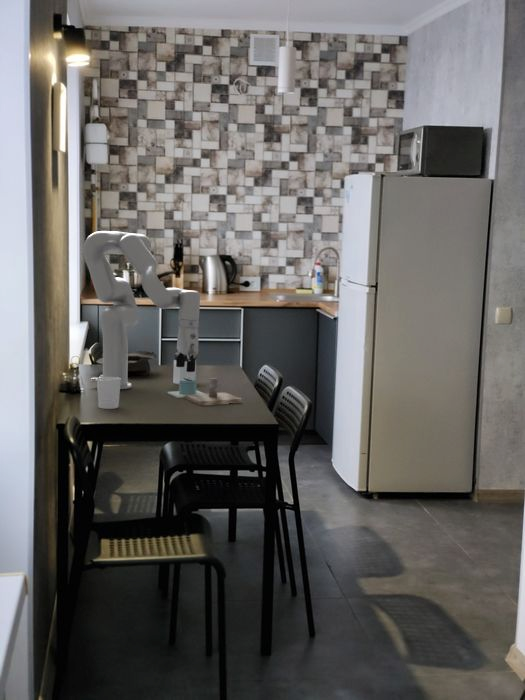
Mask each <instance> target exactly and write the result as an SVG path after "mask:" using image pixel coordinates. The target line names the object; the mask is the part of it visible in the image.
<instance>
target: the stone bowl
mask: <svg viewBox="0 0 525 700" xmlns="http://www.w3.org/2000/svg"><path fill="white" fill-rule="evenodd" d="M157 357H158V356H157V355H156V353H155V352H154V351H153V352H149V351H144V350H143V351H142V350H140V351H134V352H130V353H128V372H130V371H132V372H131V373H134V374H136V375H140V376H147V375H149V373H150V372H151V364H150V362H149V360H153V359H156V358H157ZM96 363H98V364H101V365H103V357H101V358H99V359H97V360H96Z"/></svg>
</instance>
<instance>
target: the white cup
mask: <svg viewBox="0 0 525 700" xmlns="http://www.w3.org/2000/svg"><path fill="white" fill-rule="evenodd" d="M98 377H99V378H98ZM98 377H96V378H97V383H96V384H97V385H96V386H97V387H96V389H97V399H98V402H97V403H98V408H99V409H103V410H104V409H105V410H112V409H117V408H119V407H120V406H119V404H120V394H121V393H120V391H121V389H120V378H118V377H100V376H98Z"/></svg>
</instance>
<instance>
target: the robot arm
mask: <svg viewBox="0 0 525 700" xmlns="http://www.w3.org/2000/svg"><path fill="white" fill-rule="evenodd" d="M151 248H152V242H151V241H150V239H149V237H147V236H146V235H145V234H142V233H133V232H132V233H131V232H123V231H116V230H115V231H114V230H111V231H110V230H100V231H99V230H98V231H94V232H93V233H91V234H90V235H88V236H87V238H86V240H84V243H83V249H82V250H83V251H82V252H83V259H84V261H85V263H86V266H87V268H88V271H89V274H90V279H91V281H92V285H93V288H94V291H95V295H96V297H97V298H98V300H99V301H100V302H102V303H103V304H104V303H105V304H113V305H109V306H108V307H106V308H105V309H103V311H102V312H101V314H100V325H101V331H102V358H103V364H102V374H100V375H99V376H98V377H90V379H89V381H90V382H89V383H91V384H93V383H94V384H97V378H99V377H118V378H120V390H127V389H130V388H133V387H132V383H130V382H128V381H129V378H128V375H129V374H128V372H129V371H128V354H129V339H128V334H127V331H126V329H131V328H133V327H135V326H136V325H137V324H138V323H139V320H140V314H139V313H140V312H139V309H138V304H137V303H136V302H137V301H136V299H135V295H134V292H133V289H132V286H131V285H130V284H129V282H128V281H127V280H126V279H125V278H122V277H115V273H114V271H113V268H112V265H111V263H110V262H109V260H108V258H107V257H106V254H118V255H119V254H120V255H123V256H124V257H125V260H127V261H128V262H129V264H130V265H131V266H132V268H133V269H134V271H135V272H136V273H137V274H138V275H139V278H140V283H141V286H142V290H143V291H144V293H145V294H146V296H147V297H148V298H149V299H150V300H151V302H152V303H153V304H154V305H155V306H156V307H157V308H159V309H161V310H167V309H168V310H169V309H175V308H177V309H178V319H177V328H178V332H177V339H176V340H177V342H176V353H177V354H176V355H177V361H176V367H184V366H185V356H184V355H187V358H188V361H187V370H186V371H187V372H195V363H196V364H197V357H198V354H199V323H200V321H199V319H200V308H201V307H200V306H201V305H200V304H201V293H200V292H199V291H198V290H193V289H191V290H189V289H183V288H179V287H167V288H166V286H164V284H163V283H162V282H161V281H160V279H159V277H158V275H157V269H158V267H159V262H158V260H157V259H156V258H155V257H154V255H153V254H152V253H151ZM190 356H191V357H190Z"/></svg>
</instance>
